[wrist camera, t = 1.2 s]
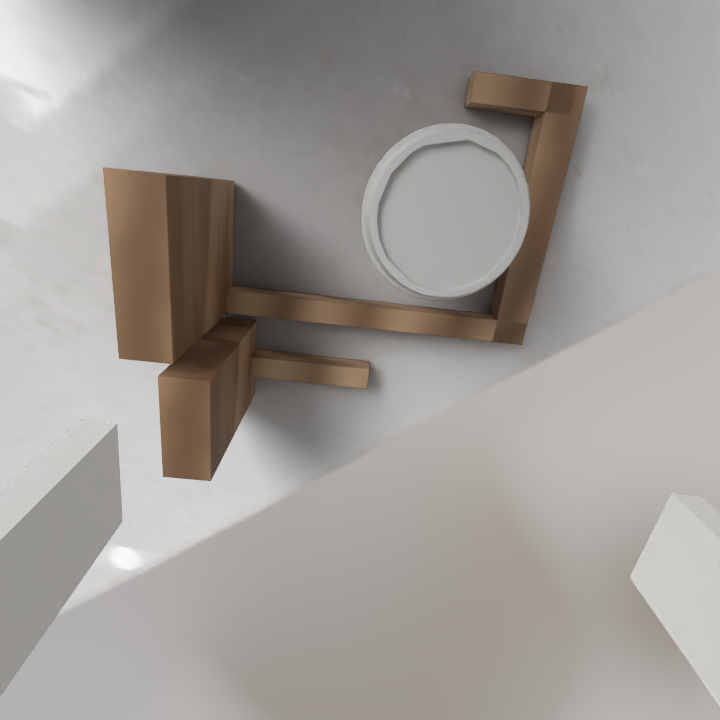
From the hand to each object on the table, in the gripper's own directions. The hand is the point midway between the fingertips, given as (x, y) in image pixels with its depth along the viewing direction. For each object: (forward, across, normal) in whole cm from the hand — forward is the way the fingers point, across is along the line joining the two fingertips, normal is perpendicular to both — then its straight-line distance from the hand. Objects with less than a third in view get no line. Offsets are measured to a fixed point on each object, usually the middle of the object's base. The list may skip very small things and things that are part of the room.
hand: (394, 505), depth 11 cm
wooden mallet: (+28, -5, -8) cm, 30 cm away
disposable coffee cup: (+28, +3, +6) cm, 29 cm away
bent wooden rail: (+28, -1, +6) cm, 29 cm away
